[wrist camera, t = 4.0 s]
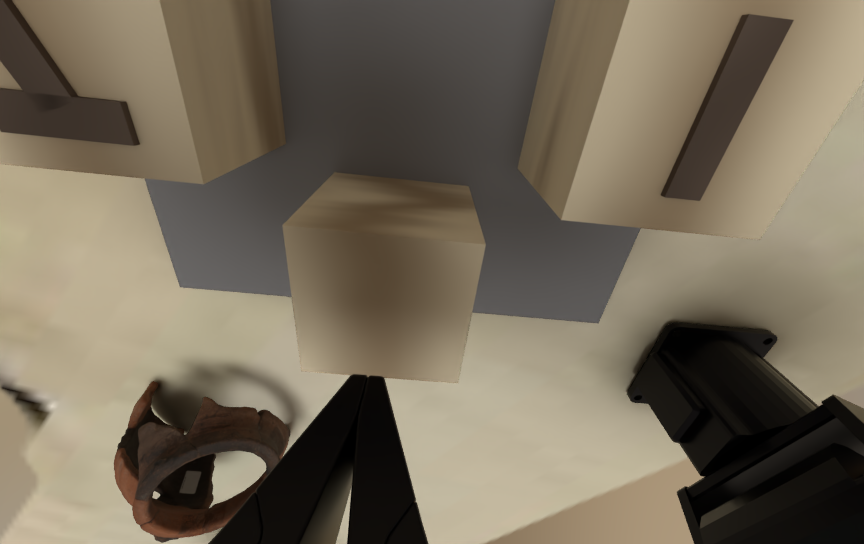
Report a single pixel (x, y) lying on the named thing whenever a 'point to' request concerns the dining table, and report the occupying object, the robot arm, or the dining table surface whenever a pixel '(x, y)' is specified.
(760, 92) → the numbered block one
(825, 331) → the dining table surface
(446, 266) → the plain block
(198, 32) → the numbered block seven
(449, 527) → the dining table surface
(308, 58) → the charcoal mat
